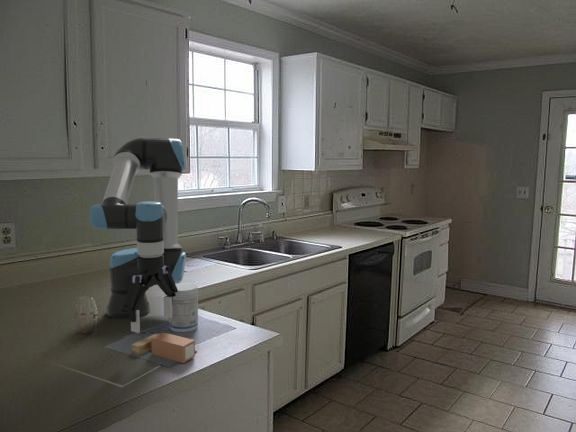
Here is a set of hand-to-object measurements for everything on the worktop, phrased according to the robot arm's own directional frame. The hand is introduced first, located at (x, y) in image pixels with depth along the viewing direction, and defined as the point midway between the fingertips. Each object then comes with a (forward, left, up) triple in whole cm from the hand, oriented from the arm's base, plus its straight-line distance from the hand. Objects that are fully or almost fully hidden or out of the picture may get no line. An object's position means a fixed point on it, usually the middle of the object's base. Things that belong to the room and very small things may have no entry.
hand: (152, 324), depth 144 cm
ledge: (0, -2, -8) cm, 9 cm away
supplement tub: (-19, -4, -8) cm, 21 cm away
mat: (0, -1, -8) cm, 8 cm away
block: (0, +2, -5) cm, 6 cm away
